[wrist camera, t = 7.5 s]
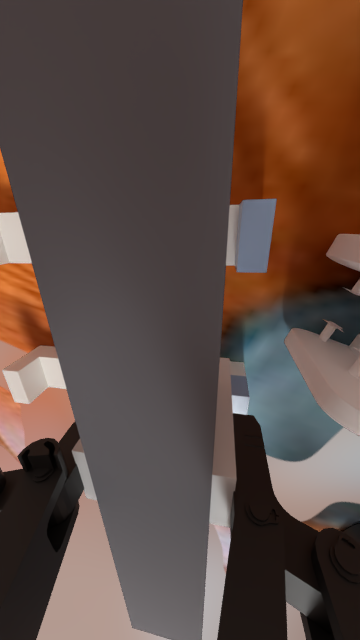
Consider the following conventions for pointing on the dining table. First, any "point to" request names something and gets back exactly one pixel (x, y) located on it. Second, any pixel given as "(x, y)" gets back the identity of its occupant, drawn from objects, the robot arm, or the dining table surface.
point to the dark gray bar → (131, 258)
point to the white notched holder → (242, 251)
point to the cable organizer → (332, 352)
